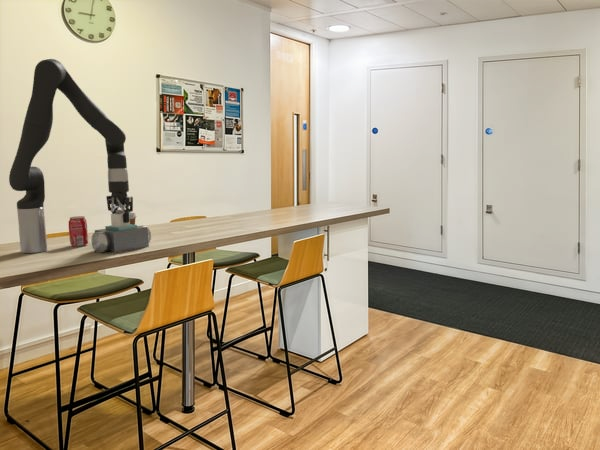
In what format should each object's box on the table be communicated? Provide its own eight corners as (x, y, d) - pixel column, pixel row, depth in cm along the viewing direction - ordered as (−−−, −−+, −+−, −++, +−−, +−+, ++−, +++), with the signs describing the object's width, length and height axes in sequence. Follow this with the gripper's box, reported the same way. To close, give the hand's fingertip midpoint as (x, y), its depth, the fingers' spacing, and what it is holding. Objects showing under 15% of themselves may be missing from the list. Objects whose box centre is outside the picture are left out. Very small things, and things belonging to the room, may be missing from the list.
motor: (89, 251, 199) (87, 228, 198) (136, 242, 217) (134, 221, 216) (107, 254, 192) (106, 230, 191) (154, 245, 210) (153, 223, 209)
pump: (111, 228, 203) (110, 210, 202) (122, 227, 207) (121, 209, 206) (119, 229, 200) (118, 210, 199) (130, 228, 204) (129, 209, 203)
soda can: (82, 243, 218) (80, 215, 217) (92, 245, 214) (89, 216, 212) (66, 246, 212) (64, 217, 211) (76, 247, 208) (73, 218, 207)
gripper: (98, 180, 202) (101, 222, 204) (121, 180, 194) (124, 224, 196) (115, 179, 208) (118, 220, 210) (137, 179, 200) (140, 222, 202)
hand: (121, 222), depth 203 cm, fingers open, 6 cm apart
